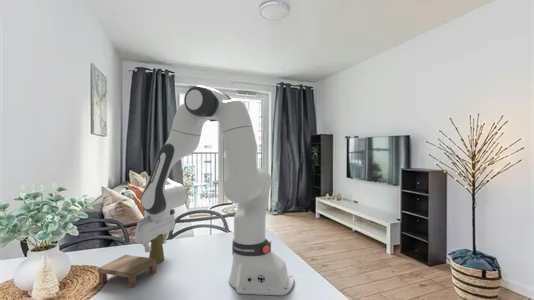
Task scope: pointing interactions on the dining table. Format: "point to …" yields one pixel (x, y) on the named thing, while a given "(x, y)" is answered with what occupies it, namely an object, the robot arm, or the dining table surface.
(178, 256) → the dining table surface
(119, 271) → the walnut stand
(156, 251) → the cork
